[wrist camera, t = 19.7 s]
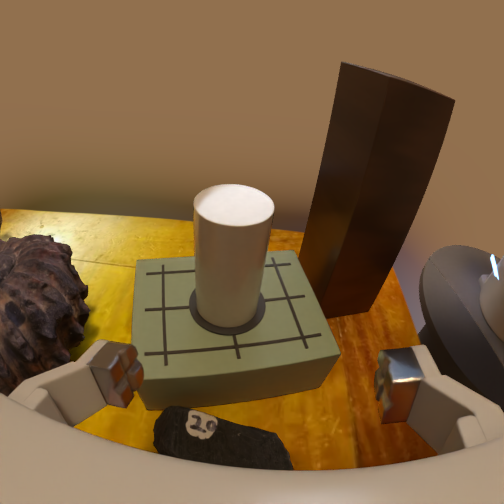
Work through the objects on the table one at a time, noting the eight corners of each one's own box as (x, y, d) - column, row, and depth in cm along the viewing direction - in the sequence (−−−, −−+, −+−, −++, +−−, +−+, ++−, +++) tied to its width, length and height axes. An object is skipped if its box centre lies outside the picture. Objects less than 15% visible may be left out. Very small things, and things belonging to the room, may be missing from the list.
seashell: (38, 455, 17) (130, 356, 19) (-87, 386, 9) (-28, 237, 11) (33, 332, 32) (98, 252, 34) (-39, 275, 24) (24, 180, 26)
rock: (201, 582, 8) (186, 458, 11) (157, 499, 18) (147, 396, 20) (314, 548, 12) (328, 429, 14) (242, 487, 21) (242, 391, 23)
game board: (283, 291, 34) (294, 248, 30) (319, 387, 25) (342, 352, 21) (145, 302, 30) (136, 257, 26) (147, 410, 22) (130, 378, 18)
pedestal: (344, 269, 38) (403, 78, 22) (368, 311, 32) (455, 100, 17) (293, 274, 36) (340, 61, 21) (313, 320, 31) (390, 76, 16)
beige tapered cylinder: (250, 279, 26) (263, 183, 20) (263, 324, 22) (284, 224, 17) (193, 283, 25) (191, 184, 19) (199, 330, 21) (195, 228, 16)
